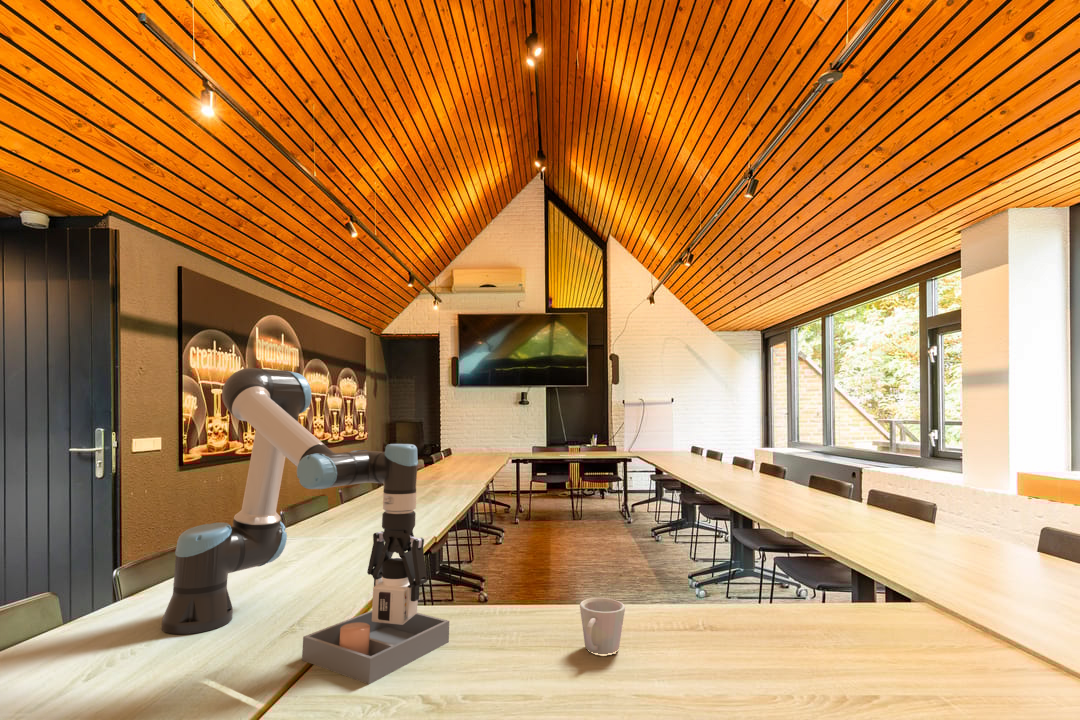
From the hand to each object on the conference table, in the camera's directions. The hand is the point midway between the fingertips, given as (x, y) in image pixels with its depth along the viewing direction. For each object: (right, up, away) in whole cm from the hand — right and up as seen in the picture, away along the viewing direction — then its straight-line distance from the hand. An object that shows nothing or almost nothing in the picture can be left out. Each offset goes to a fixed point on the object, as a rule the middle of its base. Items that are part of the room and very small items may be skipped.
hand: (395, 611), depth 128 cm
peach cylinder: (-6, -6, -11) cm, 14 cm away
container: (0, -2, 0) cm, 2 cm away
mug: (+46, -9, -2) cm, 47 cm away
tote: (-3, -7, -5) cm, 9 cm away
